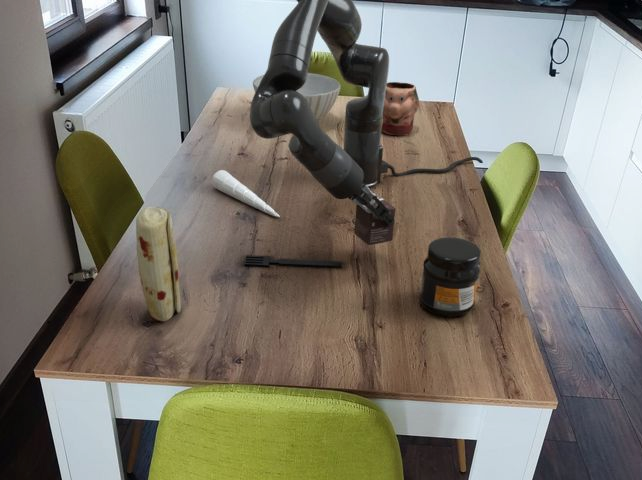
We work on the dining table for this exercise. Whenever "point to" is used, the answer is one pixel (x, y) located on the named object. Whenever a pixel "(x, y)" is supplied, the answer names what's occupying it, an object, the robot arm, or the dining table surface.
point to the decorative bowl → (316, 92)
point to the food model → (158, 262)
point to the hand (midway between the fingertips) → (381, 216)
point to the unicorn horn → (239, 191)
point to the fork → (289, 262)
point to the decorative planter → (399, 108)
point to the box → (373, 226)
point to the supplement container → (450, 276)
